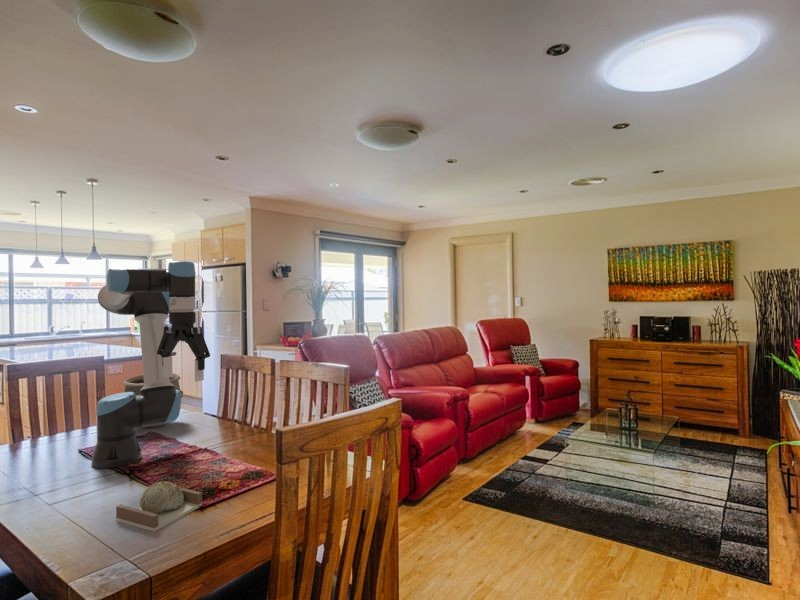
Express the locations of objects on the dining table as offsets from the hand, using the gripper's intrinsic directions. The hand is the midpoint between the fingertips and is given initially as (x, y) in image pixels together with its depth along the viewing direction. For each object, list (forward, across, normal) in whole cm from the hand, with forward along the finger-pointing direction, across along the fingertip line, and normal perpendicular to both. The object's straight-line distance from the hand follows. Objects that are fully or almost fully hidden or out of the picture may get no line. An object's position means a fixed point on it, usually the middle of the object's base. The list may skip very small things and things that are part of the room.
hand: (183, 379), depth 145 cm
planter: (+33, -65, +40) cm, 83 cm away
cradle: (+32, +11, -18) cm, 38 cm away
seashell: (+32, +11, -17) cm, 38 cm away
